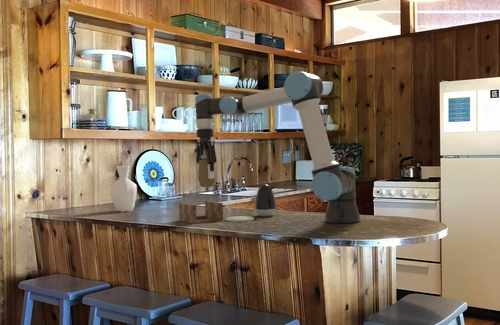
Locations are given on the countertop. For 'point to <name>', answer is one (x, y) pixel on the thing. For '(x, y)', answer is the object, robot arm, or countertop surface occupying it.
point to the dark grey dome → (265, 201)
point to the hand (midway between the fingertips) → (206, 178)
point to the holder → (211, 211)
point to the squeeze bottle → (204, 172)
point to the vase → (124, 191)
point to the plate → (239, 219)
